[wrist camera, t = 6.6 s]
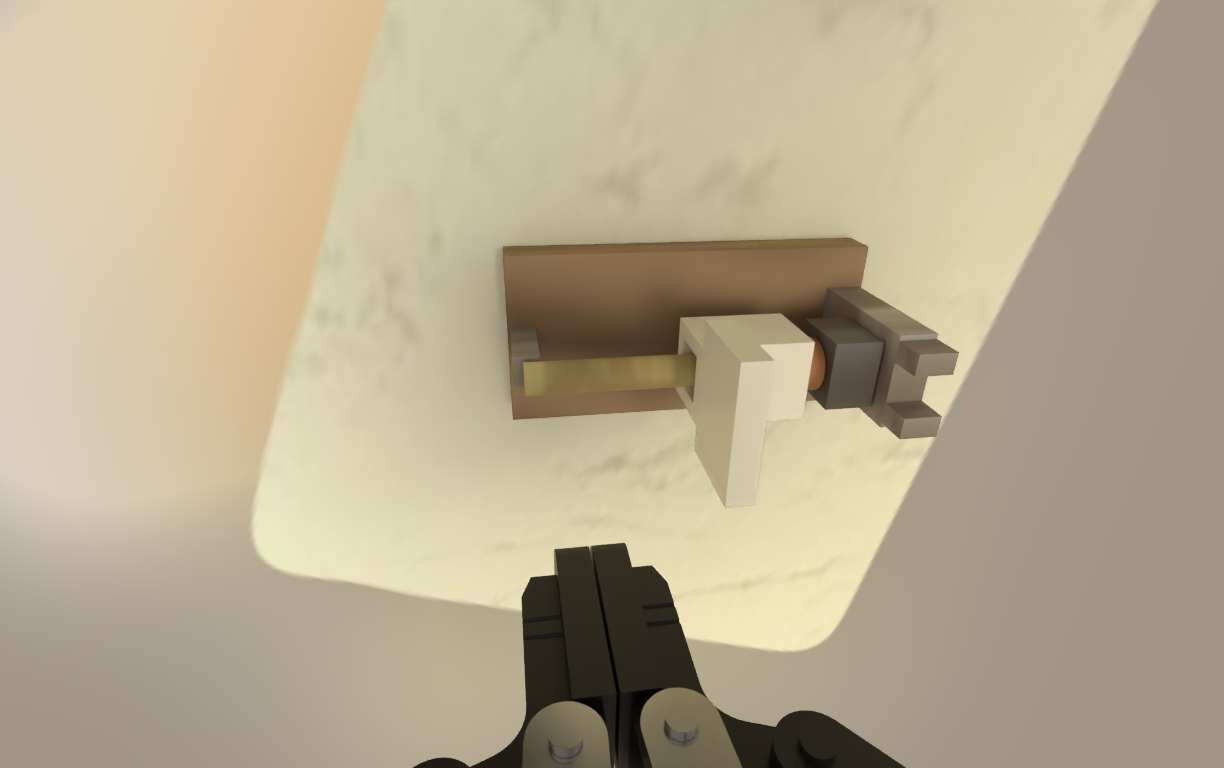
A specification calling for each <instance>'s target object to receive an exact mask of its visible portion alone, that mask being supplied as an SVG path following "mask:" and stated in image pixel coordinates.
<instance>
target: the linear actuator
mask: <svg viewBox="0 0 1224 768" xmlns="http://www.w3.org/2000/svg"><path fill="white" fill-rule="evenodd" d="M867 252H868V246H866V245H864V244H862V243H860V242H858V241H856V240H853V239H851V238H838V239H797V240H757V241H717V242H676V243H636V244H595V245H555V246H515V247H503V261H504V278H505V294H506V311H507V327H508V344H509V361H510V377H511V394H512V410H513V420H516V419H531V418H547V417H562V416H578V415H593V414H609V413H624V412H640V411H655V410H671V409H686V406H685V405H684V403H683V401H682V399H681V397H680V396H679V394H678V392H677V390H676V387H690V386H695V373H696V360H697V357H696V356H695V354H678V346H679V330H680V318H683V317H706V316H730V315H753V314H777V313H781V314H782V315H783V316H785V317H786V318H787V319H788V320H789V321H791V322H792V323H793V324H794V325H795V326H796V327H798V328H799V329H800V330H801V331H802V332H803V333H805V334H806V335H807V336H808V337H809V338H811V339H812V340H813V341H814V342H815V345H814V352H813V358H812V364H811V370H810V376H809V383H808V389H807V395H806V401H810V400H816V401H817V402H818V403H819V404H820V405H821V406H822V407H823V408H824V409H825V410H828V409H842V408H857V407H859V408H860V409H861V410H862V411H863V412H864V413H865V414H867V415H868V416H869V417H870V418H871V419H872V420H873V421H874V422H875V423H876V424H877V425H878V426H880V427H887V428H888V429H889V430H890V431H891V432H892V433H893V434H895V435H896V436H897V437H898V438H899V439H909V438H922V437H936V436H937V432H938V428H939V425H940V421H941V417H942V416H940V415H939V414H938V413H937V412H935V411H934V410H933V409H931V408H930V407H929V406H928V405H926V404H925V403H924V402H922V397H923V393H924V389H925V385H926V381H927V377H928V376H938V375H953V373H954V369H955V365H956V361H957V358H958V354H959V352H957V351H955V350H954V349H952V348H950V347H949V346H947V345H945V344H944V343H942V342H941V341H939V340H937V336H938V333H936V332H934V331H933V330H931V329H929V328H927V327H926V326H924V325H922V324H921V323H919V322H917V321H916V320H914V319H912V318H911V317H909V316H907V315H906V314H904V313H902V312H901V311H899V310H897V309H895V308H894V307H892V306H890V305H889V304H887V303H885V302H884V301H882V300H880V299H879V298H877V297H875V296H874V295H872V294H870V293H868V292H867V291H865V290H863V289H862V288H861V284H862V278H863V273H864V268H865V262H866V257H867Z"/></svg>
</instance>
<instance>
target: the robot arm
mask: <svg viewBox="0 0 1224 768" xmlns="http://www.w3.org/2000/svg"><path fill="white" fill-rule="evenodd" d="M554 565H555V575H550V576H540V577H531V579H530V581H529V583H528V585H527V587H526V589H525V591H524V593H523V595H522V618H523V640H524V664H525V686H526V716H525V721H524V723H523V726H522V728H521V730H520V732H519V734H518V735H517V737H516V738H515V739H514V740H513V741H512V742H511V743H510V744H509V745H508V746H507V747H506V748H505V749H504V750H502V751H501V752H499V753H498V754H496V755H494V756H492V757H490V758H488V759H486V760H484V761H482V762H480V763H478V764H476V765H473V766H471V767H469V766H467V765H466V764H465V763H463V762H461V761H459V760H456V759H452V758H435V759H431V760H428V761H425V762H423V763H420V764H418V765H417V766H415V767H413V768H614V765H615V768H905V767H904V766H902V765H901V764H899V763H898V762H896V761H895V760H893V759H892V758H891V757H889V756H888V755H886V754H885V753H883V752H882V751H880V750H879V749H877V748H876V747H874V746H873V745H871V744H870V743H868V742H866V741H865V740H864V739H862V738H861V737H859V736H858V735H856V734H855V733H853V732H852V731H851V730H849V729H848V728H846V727H845V726H843V725H842V724H840V723H839V722H837V721H836V720H834V719H832V718H830V717H829V716H826V715H824V714H822V713H818V712H814V711H796V712H793V713H790V714H788V715H786V716H785V717H783V718H782V719H781V720H780V721H779V723H778V724H777V726H776V727H773V726H767V725H762V724H756V723H750V722H746V721H742V720H738V719H736V718H733V717H731V716H729V715H727V714H725V713H723V712H722V711H720V710H719V709H718V708H716V707H715V706H714V705H713V703H712V702H711V701H709V699H708V698H707V697H706V695H705V694H704V692H703V690H702V688H701V685H700V683H699V679H698V677H697V673H696V670H695V667H694V664H693V661H692V658H691V655H690V652H689V648H688V645H687V642H686V639H685V636H684V633H683V630H682V627H681V624H680V623H679V617H678V614H677V611H676V608H675V607H674V602H673V599H672V596H671V592H670V589H669V586H668V583H667V582H666V580H665V579H664V578H663V577H662V576H661V575H660V574H659V573H658V572H657V571H656V569H655V568H654V567H653V566H642V567H632V565H631V562H630V558H629V554H628V550H627V547H626V544H625V543H617V544H606V545H595V546H591V547H590V549H589V547H588V546H586V547H575V548H564V549H555V550H554Z"/></svg>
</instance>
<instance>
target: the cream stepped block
mask: <svg viewBox="0 0 1224 768" xmlns="http://www.w3.org/2000/svg"><path fill="white" fill-rule="evenodd" d="M814 345H815V342H814V341H813V340H812V339H811V338H809V337H808V336H807V335H806V334H805V333H803V332H802V331H801V330H800V329H799V328H798V327H796V326H795V325H794V324H793V323H792V322H791V321H789V320H788V319H787V318H786V317H785V316H783V315H782V314H781V313H777V314H753V315H730V316H706V317H683V318H680V330H679V346H678V354H695V356H696V357H697V360H696V373H695V386H690V387H676V390H677V392H678V394H679V396H680V397H681V399H682V401H683V403H684V405H685V406H686V408H687V410H688V412H689V413H690V415H691V417H692V419H693V420H694V422H695V424H696V426H697V427H696V439H695V452H696V454H697V456H698V457H699V459H700V461H701V463H702V465H703V467H704V469H705V471H706V473H707V475H708V477H709V478H710V480H711V482H712V484H713V486H714V488H715V490H716V492H717V494H718V496H719V498H720V499H721V501H722V503H723V505H724V507H725V508H732V507H743V506H755V505H756V497H757V490H758V483H759V475H760V468H761V460H762V453H763V445H764V438H765V431H766V423H767V421H776V420H791V419H803V413H804V407H805V401H806V395H807V389H808V383H809V376H810V370H811V364H812V358H813V352H814Z"/></svg>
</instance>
